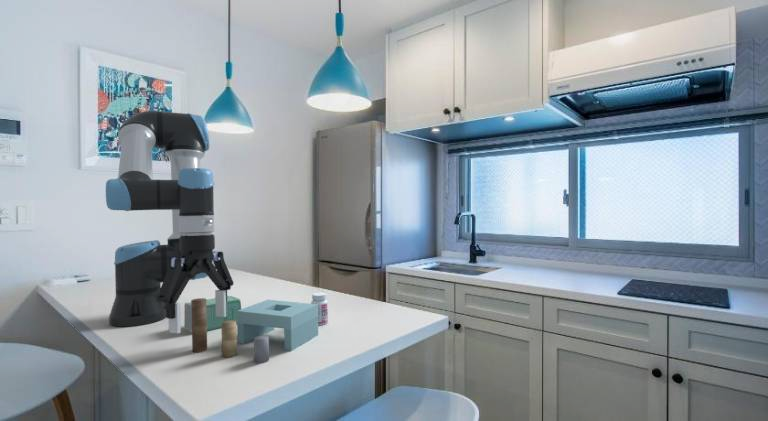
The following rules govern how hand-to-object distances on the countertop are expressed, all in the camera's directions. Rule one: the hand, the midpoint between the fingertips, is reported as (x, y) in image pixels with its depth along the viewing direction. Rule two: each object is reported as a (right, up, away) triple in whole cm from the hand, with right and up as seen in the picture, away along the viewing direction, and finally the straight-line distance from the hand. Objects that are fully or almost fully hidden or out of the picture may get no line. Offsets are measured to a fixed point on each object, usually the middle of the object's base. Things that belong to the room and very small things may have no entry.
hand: (199, 323), depth 94 cm
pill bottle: (+25, -6, +20) cm, 33 cm away
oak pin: (+8, -6, -3) cm, 11 cm away
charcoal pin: (+17, -6, -6) cm, 19 cm away
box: (-5, -6, +19) cm, 21 cm away
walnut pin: (0, -6, 0) cm, 6 cm away
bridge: (+17, -6, +8) cm, 19 cm away
